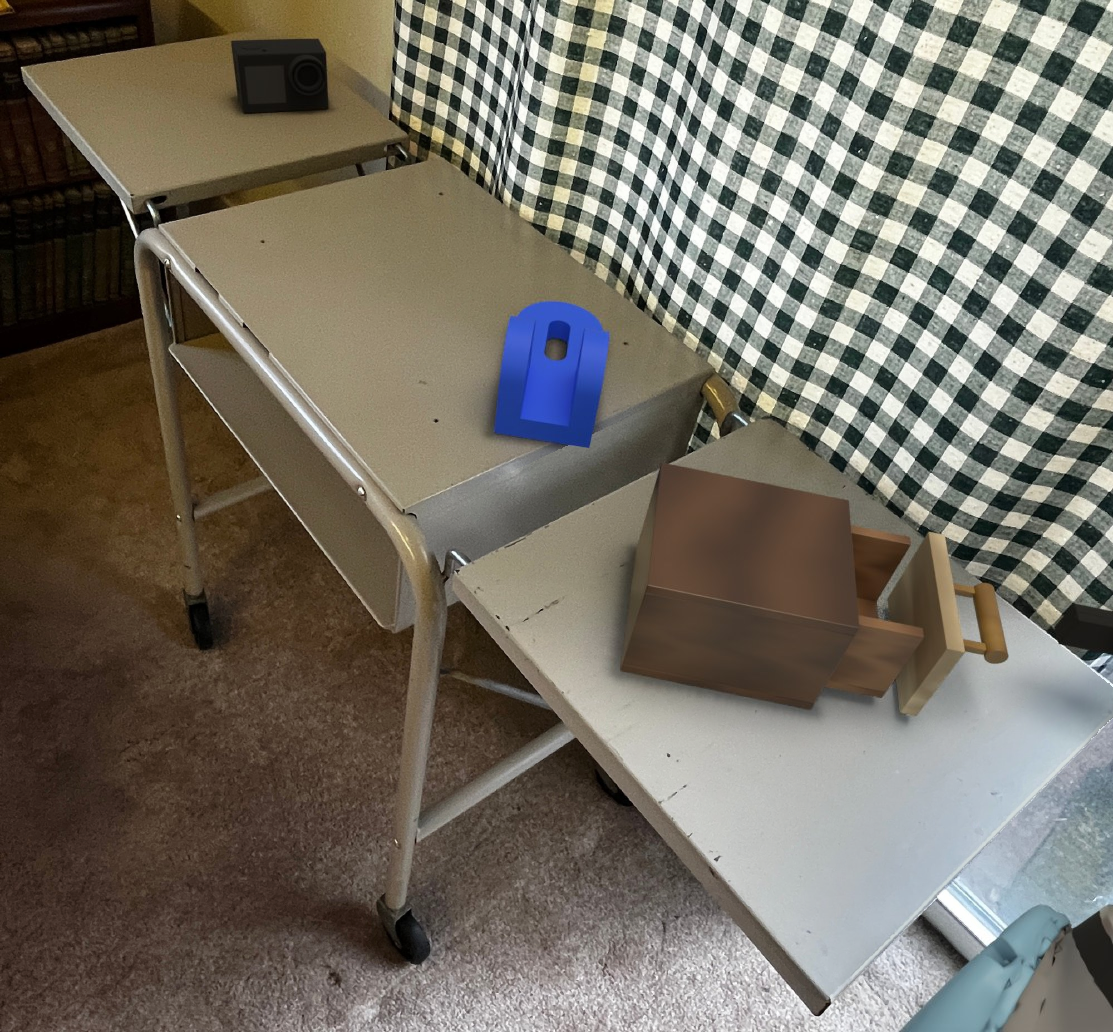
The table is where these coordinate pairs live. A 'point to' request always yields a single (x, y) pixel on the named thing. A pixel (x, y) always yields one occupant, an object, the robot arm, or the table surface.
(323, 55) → the digital camera
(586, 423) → the bracket
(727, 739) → the table surface
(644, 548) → the cabinet
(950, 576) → the drawer
